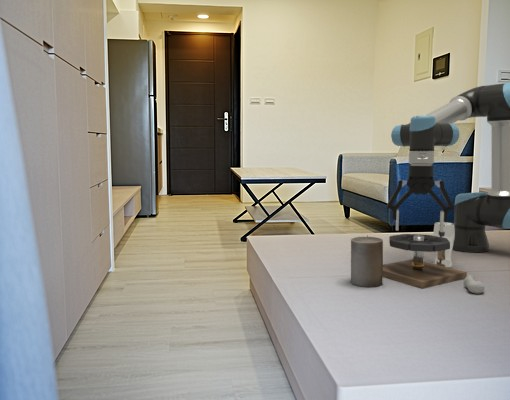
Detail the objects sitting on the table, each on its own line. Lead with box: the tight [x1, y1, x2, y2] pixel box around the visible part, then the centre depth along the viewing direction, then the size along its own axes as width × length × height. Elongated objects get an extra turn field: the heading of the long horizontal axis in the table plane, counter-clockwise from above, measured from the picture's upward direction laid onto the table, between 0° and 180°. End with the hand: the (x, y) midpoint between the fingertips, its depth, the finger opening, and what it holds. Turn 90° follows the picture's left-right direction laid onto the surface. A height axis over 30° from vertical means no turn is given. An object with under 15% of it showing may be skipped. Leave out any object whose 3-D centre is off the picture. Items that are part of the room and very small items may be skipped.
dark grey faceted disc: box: [388, 233, 450, 253], centre depth 153 cm, size 18×18×2 cm
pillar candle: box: [350, 234, 384, 288], centre depth 146 cm, size 10×10×15 cm
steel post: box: [412, 235, 425, 271], centre depth 154 cm, size 4×4×11 cm
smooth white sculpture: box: [463, 274, 485, 295], centre depth 138 cm, size 4×8×5 cm
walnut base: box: [382, 258, 468, 289], centre depth 154 cm, size 21×21×2 cm
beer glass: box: [432, 221, 455, 268], centre depth 166 cm, size 7×7×15 cm
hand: (418, 230), depth 153 cm, fingers open, 13 cm apart
